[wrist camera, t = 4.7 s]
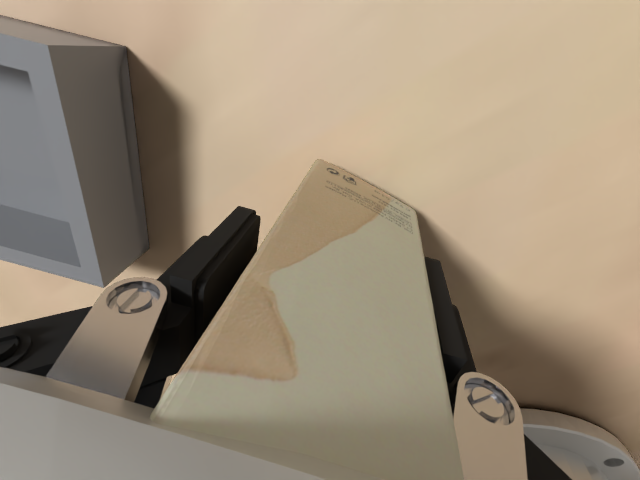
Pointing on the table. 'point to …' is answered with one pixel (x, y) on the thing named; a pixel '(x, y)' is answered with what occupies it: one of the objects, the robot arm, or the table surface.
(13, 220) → the gray tray
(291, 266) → the box
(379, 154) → the table surface
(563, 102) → the table surface
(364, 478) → the robot arm
